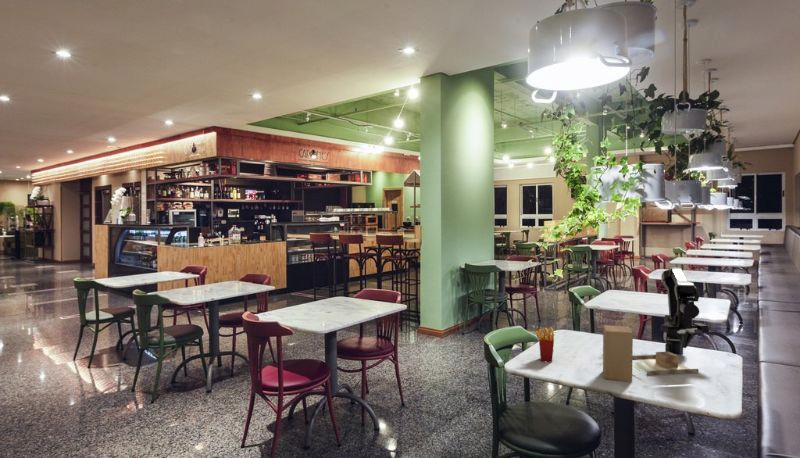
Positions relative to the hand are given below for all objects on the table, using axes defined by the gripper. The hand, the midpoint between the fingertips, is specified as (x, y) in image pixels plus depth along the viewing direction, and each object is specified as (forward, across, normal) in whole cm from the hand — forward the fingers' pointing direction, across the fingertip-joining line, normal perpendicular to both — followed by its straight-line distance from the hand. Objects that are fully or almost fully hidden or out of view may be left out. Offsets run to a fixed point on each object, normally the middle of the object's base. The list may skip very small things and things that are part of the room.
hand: (684, 347), depth 199 cm
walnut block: (+7, +8, 0) cm, 11 cm away
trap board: (+8, +12, 0) cm, 15 cm away
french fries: (+8, +56, -16) cm, 59 cm away
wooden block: (+8, +35, +8) cm, 37 cm away
